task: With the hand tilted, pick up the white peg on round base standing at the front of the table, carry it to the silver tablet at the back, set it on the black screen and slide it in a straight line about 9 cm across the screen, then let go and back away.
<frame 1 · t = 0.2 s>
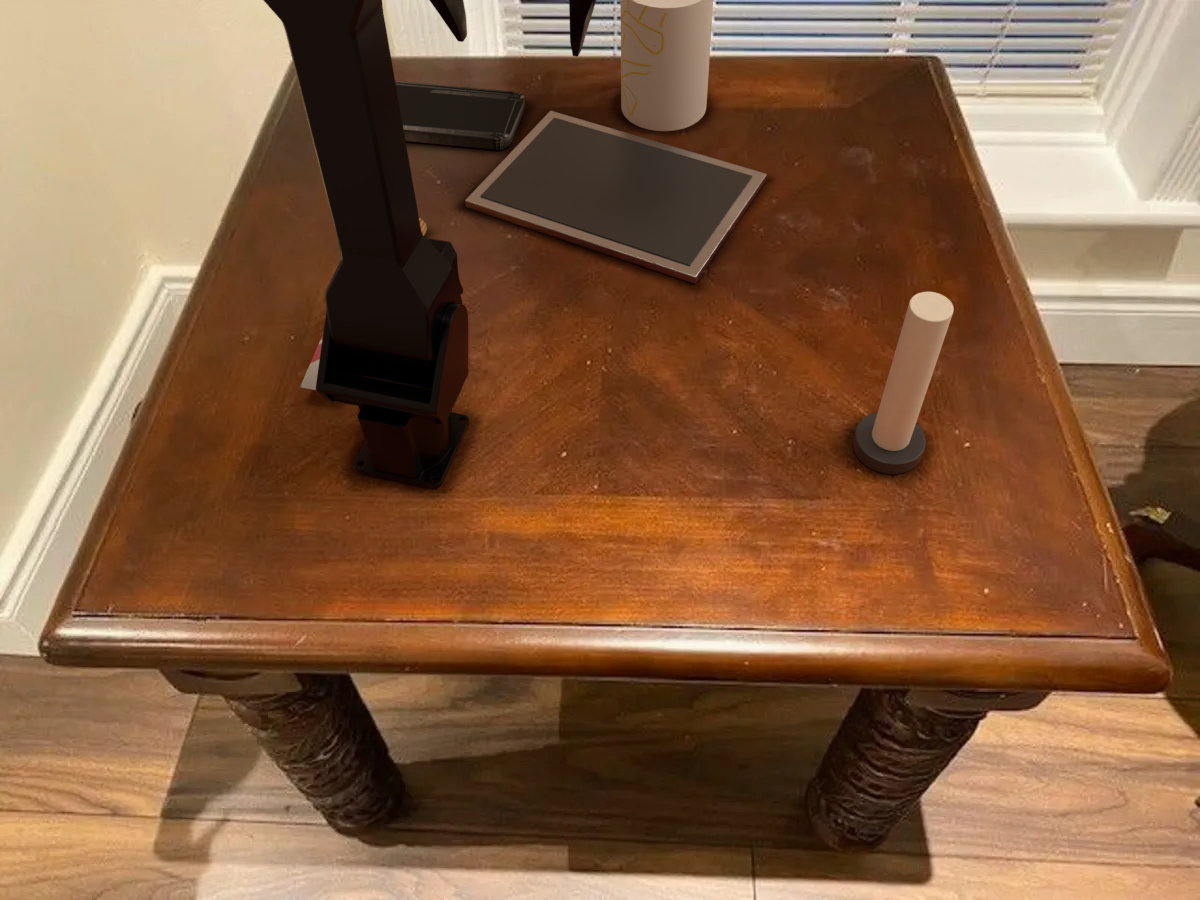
hand: (519, 46, 79), 15 cm above the table, tool pointing down, fingers open, 9 cm apart
tablet: (617, 194, 91), on the table
peg on round base: (887, 447, 72), on the table
phone: (442, 120, 98), on the table
paintbrush: (375, 315, 82), on the table
cup: (663, 107, 99), on the table
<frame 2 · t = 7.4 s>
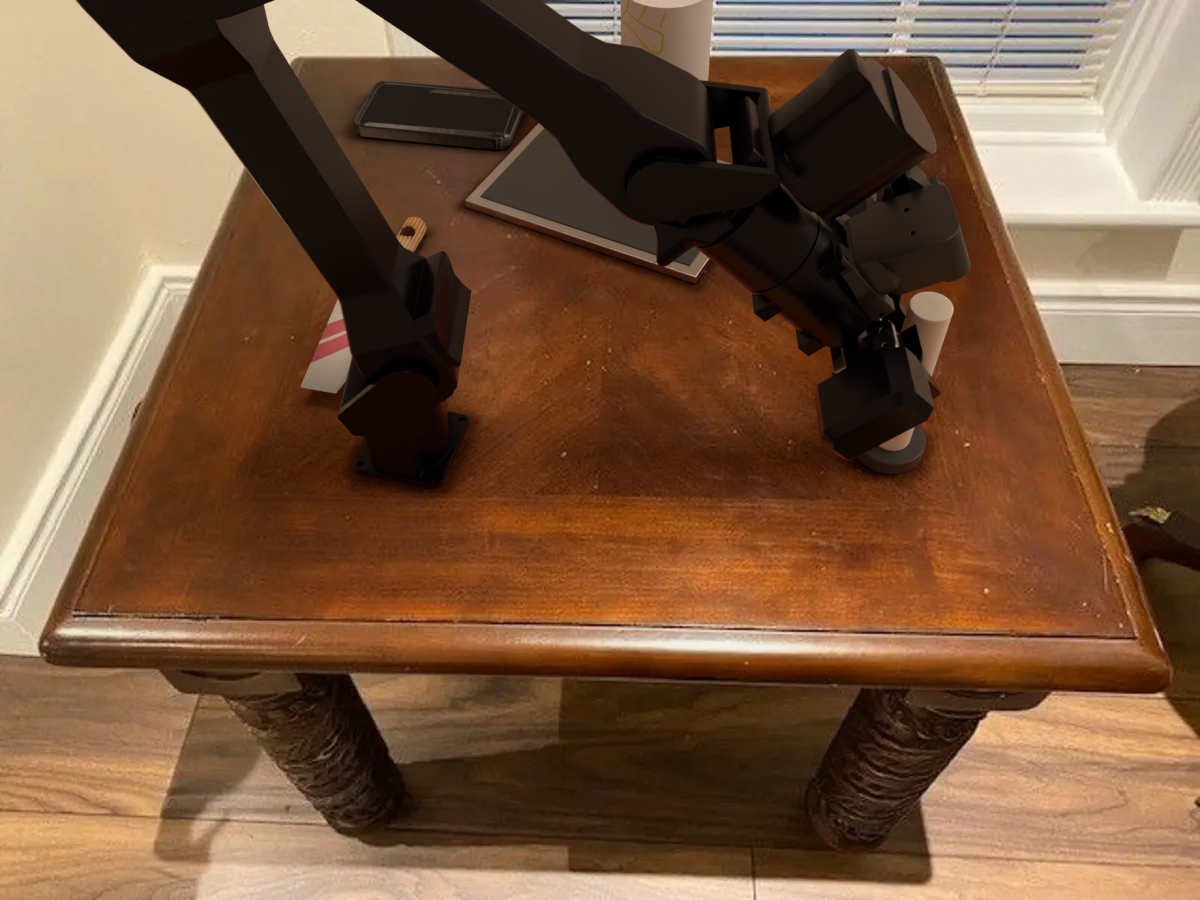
hand: (930, 379, 67), 7 cm above the table, tool tilted 45°, fingers closed on peg on round base, 2 cm apart
peg on round base: (887, 447, 72), on the table, touching gripper
everything else where it was.
when the fingers open (8 cm above the table, at t = 17.2 s): peg on round base stays where it is, resting on tablet.
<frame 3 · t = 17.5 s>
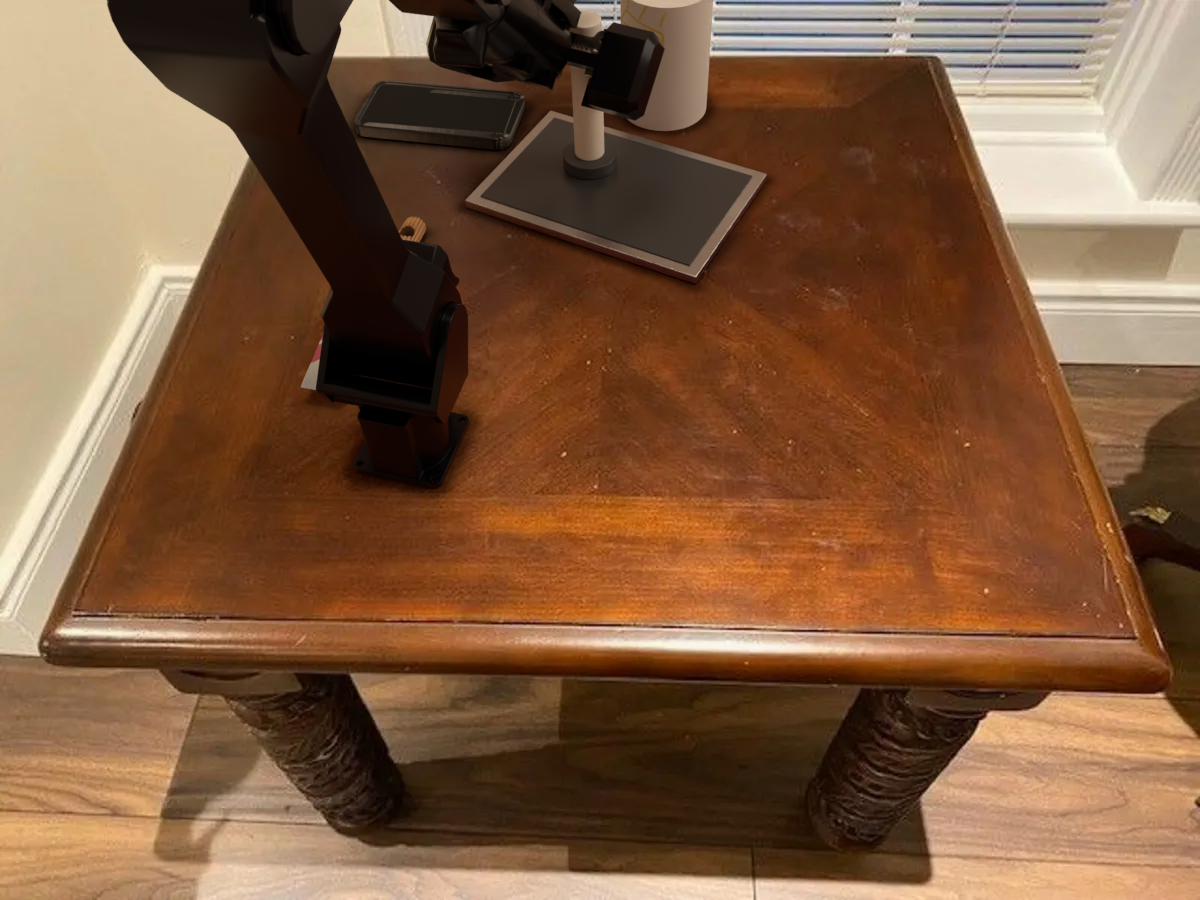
hand: (580, 80, 88), 8 cm above the table, tool tilted 45°, fingers open, 6 cm apart
peg on round base: (590, 163, 92), point 1 cm above the table, touching tablet
everything else where it was.
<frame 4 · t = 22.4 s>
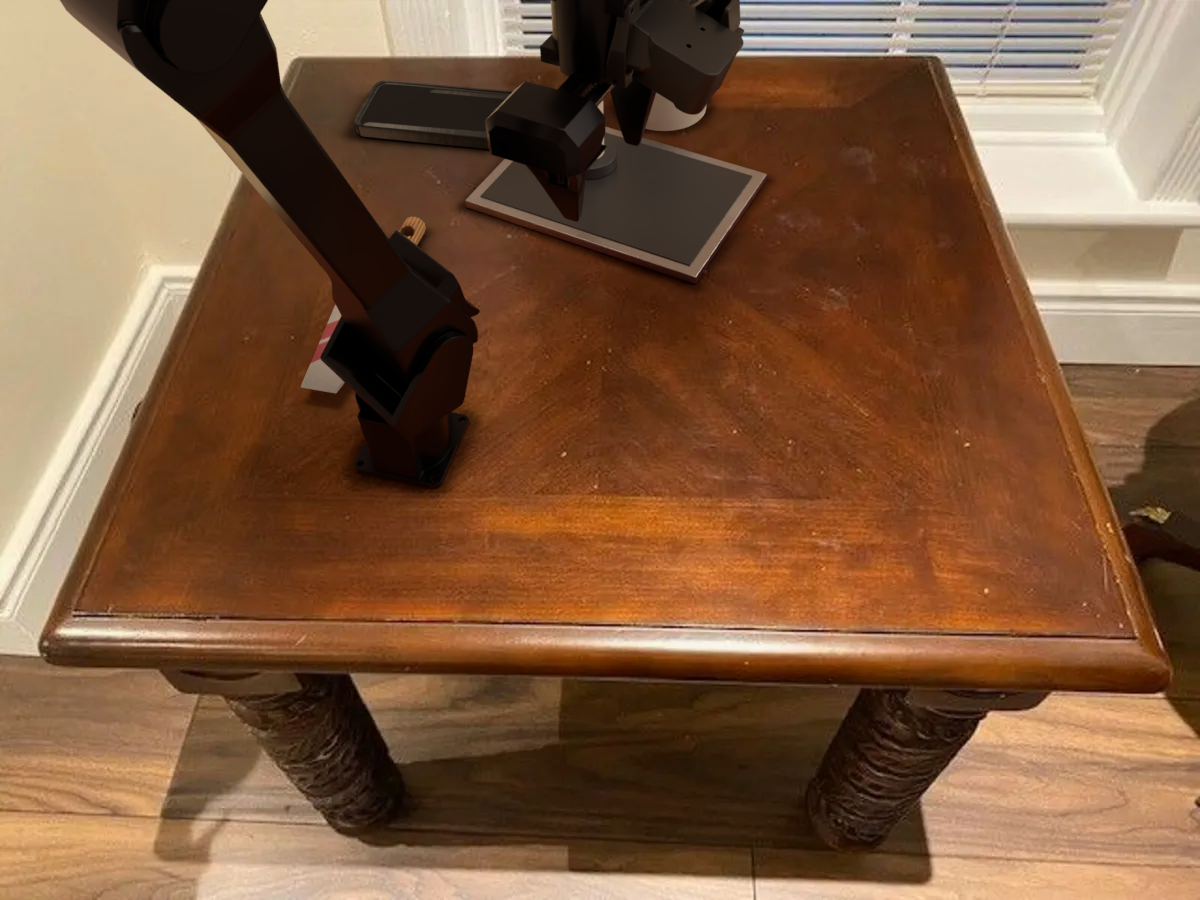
hand: (603, 179, 71), 13 cm above the table, tool pointing down, fingers open, 9 cm apart
nothing on the table moved.
at the end: peg on round base 1.5 cm from the target spot on the tablet, point 0.9 cm above the tablet's base; peg on round base touching tablet; peg on round base tilted 0° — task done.
